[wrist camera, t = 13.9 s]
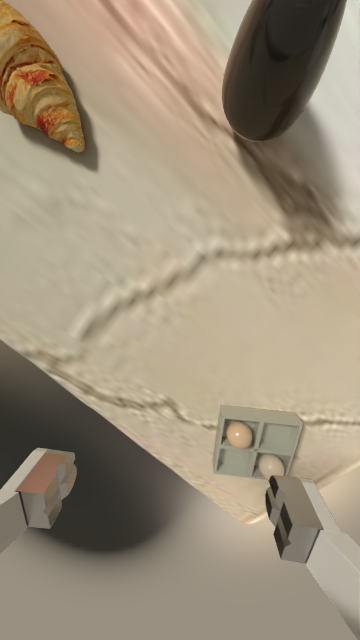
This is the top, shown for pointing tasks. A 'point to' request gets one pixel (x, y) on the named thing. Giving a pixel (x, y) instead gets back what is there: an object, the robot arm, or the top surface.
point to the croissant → (35, 82)
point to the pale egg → (270, 466)
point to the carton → (255, 440)
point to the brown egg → (239, 435)
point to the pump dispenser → (278, 63)
